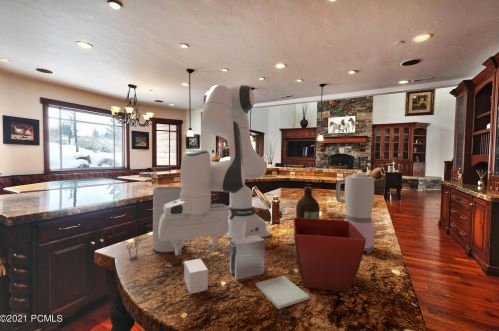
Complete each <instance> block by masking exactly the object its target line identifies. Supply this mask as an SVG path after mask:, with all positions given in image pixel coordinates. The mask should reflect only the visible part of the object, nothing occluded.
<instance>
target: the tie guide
mask: <svg viewBox="0 0 499 331" xmlns="http://www.w3.org/2000/svg"><path fill="white" fill-rule="evenodd" d="M229 240H230V241H229V242H230V243H229V246H230V245H231V244H233V245H235V254H234V255H232V254H231V253H230V252H229V273H230V275H233V274H234V280H235V281H237V280H241V279H246V278H250V277H251V278H252V277H254V276H259V275H262V274H263V275H264V274H265V249H264V246H265V239H264V238H263V237H262V238H261V237H259V236H257V235H256V236H249V237H242V238H236V239H232V238H230V239H229Z"/></svg>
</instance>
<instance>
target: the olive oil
mask: <svg viewBox="0 0 499 331" xmlns="http://www.w3.org/2000/svg"><path fill="white" fill-rule="evenodd" d="M312 189H313V187H311V186H305V187H304V190H303V191H304V192H303V193H304V194H303V196H302V197H301V198H300V199H298V201H297V203H296V206H295V212H296V214H295V215H296V216H295V218H310V219H320V212H321V211H320V210H321V208H320V204H319V202H318V201H317V200H316V198H315V197H313V190H312Z"/></svg>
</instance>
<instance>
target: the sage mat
mask: <svg viewBox="0 0 499 331" xmlns="http://www.w3.org/2000/svg"><path fill="white" fill-rule="evenodd" d="M255 286H256V288H257V289H258V290H259V291H260V292H261V293H263V295H264V296H265V298H267V299H268V300H269V301H270V302H271V303H272V304H273V305H274V306H275V307H276V308H277V309H278V310H280V309H283V308H285V307H289V306H292V305H294V304H298V303H300V302H304V301H306V300H310V295H309V294H307V293H306V292H305V291H304V290H302V289H301V288H300V287H299V286H297V285H296V284H295V283H294V282H292V281H291V280H290V279H289V278H287V277H286V276H285V275H281V276H277V277H275V278H270V279H266V280H263V281H259V282H255Z"/></svg>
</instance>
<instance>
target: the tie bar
mask: <svg viewBox="0 0 499 331" xmlns="http://www.w3.org/2000/svg"><path fill="white" fill-rule="evenodd" d="M265 249H267V241H265V246H264V250H265ZM230 253H231V254H232V255H234V254H235V245H233V244H231V245H230V244H229V254H230Z"/></svg>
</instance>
